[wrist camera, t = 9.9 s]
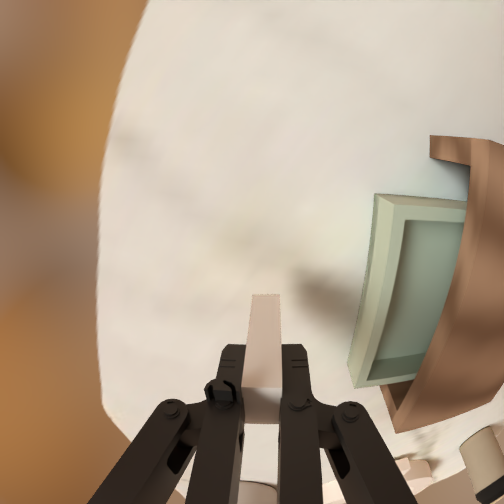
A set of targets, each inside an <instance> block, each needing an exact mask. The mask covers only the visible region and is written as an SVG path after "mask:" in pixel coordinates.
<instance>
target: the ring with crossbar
mask: <svg viewBox="0 0 504 504" xmlns="http://www.w3.org/2000/svg"><path fill="white" fill-rule="evenodd" d="M395 462H396V464H397V466H398V468H399V469H400V471H401V473H402V475H403V477H404V478H405V480H406V482H407V484H408V486H409V488H410V490H411V491H412V493H413V495H415V494H417V493H419V492H421V491H422V490H424V489H425V488H426V487H428V486H429V485H430V484H431V483H432V481H433V477H432V474H431V470H430V467H429V464H428V462H427V461H425V460H411V461H409V460H408V457H407V458H403V459H399V460H395ZM322 489H323V504H346V501H345V499H344V496H343V494H342V492H341V489H340V487H339V484H338V482H337V480H334V481H331V482H328V483H325V484H323V485H322Z"/></svg>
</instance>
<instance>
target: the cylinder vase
mask: <svg viewBox="0 0 504 504" xmlns="http://www.w3.org/2000/svg"><path fill="white" fill-rule="evenodd" d="M237 504H277V491H276V490H275V489H274V488H272V487H270V486H268V485H264V484H260V483H254V482H246V481H240V483H239V492H238V502H237Z"/></svg>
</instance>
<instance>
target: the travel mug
mask: <svg viewBox="0 0 504 504" xmlns="http://www.w3.org/2000/svg"><path fill="white" fill-rule="evenodd" d="M459 450H460V453H461V455H462V458H463V460H464V463H465V466H466V468H467V471H468V474H469V477H470V480H471V483H472V486H473V489H474V492H475V495H476V498H477V500H478V501H479V502H481V503H482V504H494V503H496V502H497V501H499V500H500V499H502V498H503V497H504V455H503V453H502V450H501V448H500V446H499V444H498V442H497V440H496V437H495V435H494V433H493V431H492V429H491V427H486V428H483V429H482V430H480V431H478V432H477V433H475V434H474V435H472V436H471V437H470V438H468V439H467V440H466V441H465V442H464V443H463V444H462V445H461V447H460V449H459Z"/></svg>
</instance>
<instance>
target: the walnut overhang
mask: <svg viewBox="0 0 504 504" xmlns="http://www.w3.org/2000/svg"><path fill="white" fill-rule="evenodd" d="M430 158H436V159H441V160H446V161H451V162H456V163H461V164H465V165H470V166H471V169H470V182H469V192H468V201H467V209H466V216H465V222H464V228H463V233H462V239H461V244H460V249H459V253H458V258H457V262H456V266H455V270H454V274H453V277H452V281H451V285H450V288H449V292H448V295H447V298H446V301H445V304H444V307H443V310H442V313H441V316H440V319H439V322H438V325H437V327H436V330H435V333H434V335H433V338H432V340H431V343H430V345H429V348H428V350H427V352H426V355H425V357H424V359H423V362H422V364H421V366H420V368H419V370H418V372H417V375H416V377H415V379H413V380H408V381H402V382H397V383H391V384H385V385H380V388H381V391H382V394H383V397H384V400H385V402H386V405H387V408H388V411H389V414H390V417H391V421H392V424H393V427H394V430H395V433H396V434H397V433H402V432H406V431H410V430H413V429H417V428H421V427H424V426H427V425H431V424H434V423H437V422H440V421H443V420H446V419H449V418H452V417H455V416H457V415H460V414H463V413H465V412H468V411H470V410H473V409H475V408H477V407H480V406H482V405H484V404H486V403H489V402H491V400H492V399H493V398H494V396H495V395H496V393H497V392H498V390H499V389H500V388H501V386H502V385H503V383H504V145H502V144H499V143H496V142H494V141H491V140H485V139H476V138H465V137H452V136H433V135H430Z"/></svg>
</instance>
